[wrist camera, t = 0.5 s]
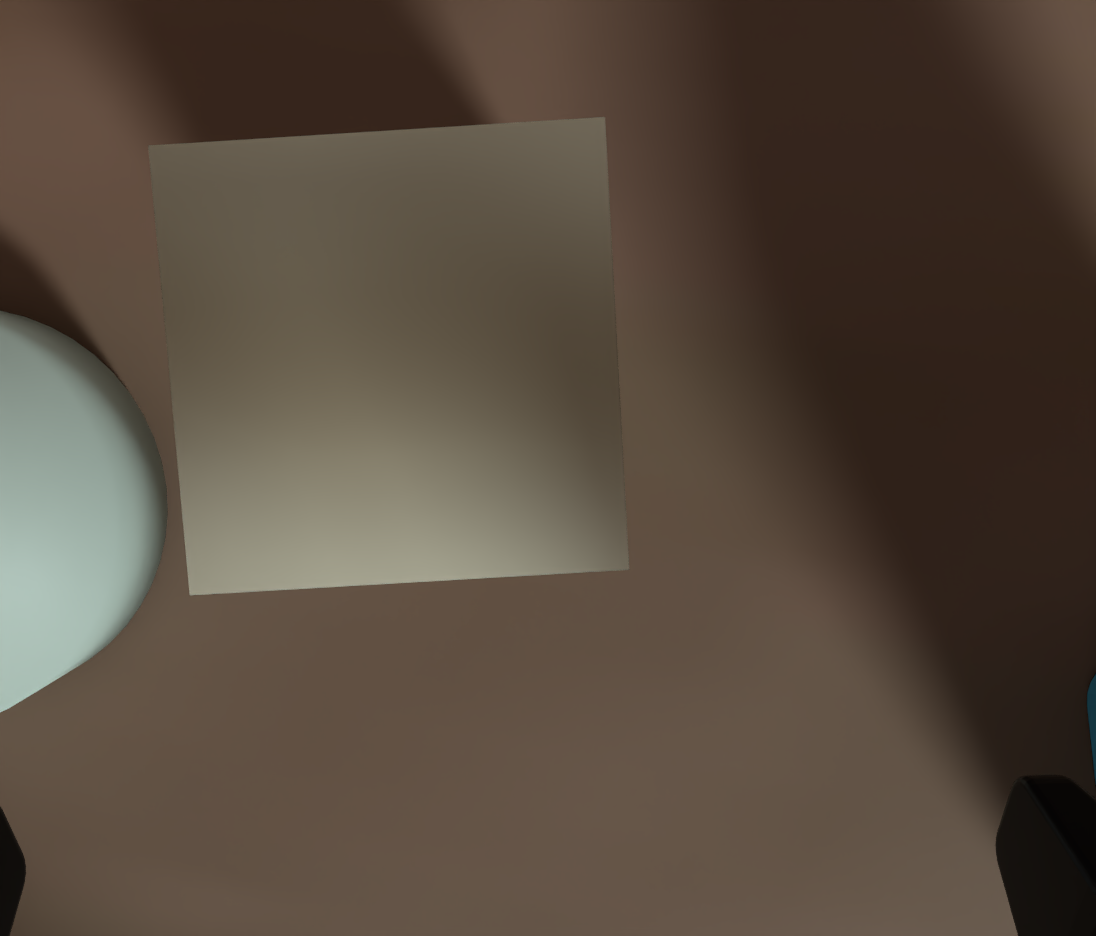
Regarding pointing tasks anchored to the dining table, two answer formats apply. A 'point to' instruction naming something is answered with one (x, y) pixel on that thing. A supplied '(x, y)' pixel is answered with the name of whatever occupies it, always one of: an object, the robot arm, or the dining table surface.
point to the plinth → (69, 506)
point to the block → (1092, 718)
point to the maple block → (393, 355)
